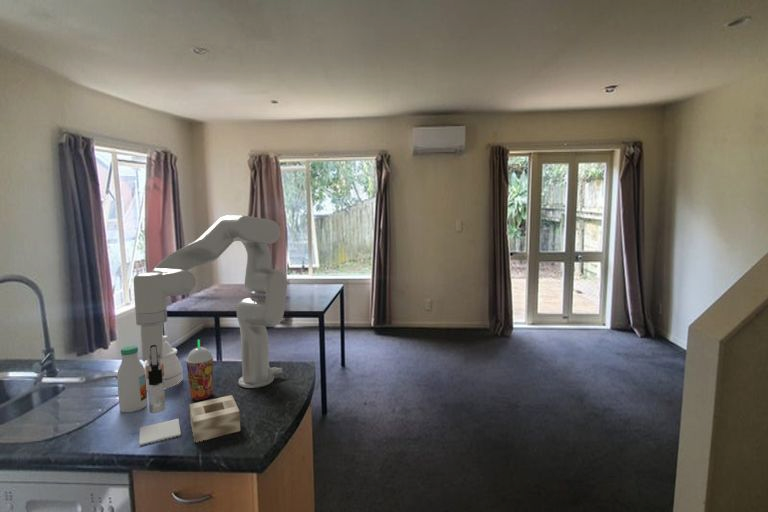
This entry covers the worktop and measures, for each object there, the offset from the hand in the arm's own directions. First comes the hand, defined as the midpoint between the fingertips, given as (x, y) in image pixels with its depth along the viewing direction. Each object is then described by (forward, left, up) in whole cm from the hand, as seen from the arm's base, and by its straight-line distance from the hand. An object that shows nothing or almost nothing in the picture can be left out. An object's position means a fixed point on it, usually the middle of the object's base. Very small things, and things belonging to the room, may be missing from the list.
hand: (155, 380), depth 114 cm
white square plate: (0, 0, -16) cm, 16 cm away
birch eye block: (-14, +5, -16) cm, 22 cm away
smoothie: (-13, -19, -16) cm, 28 cm away
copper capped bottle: (0, 0, -9) cm, 9 cm away
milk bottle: (+7, -22, -16) cm, 28 cm away
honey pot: (-2, -39, -16) cm, 42 cm away
